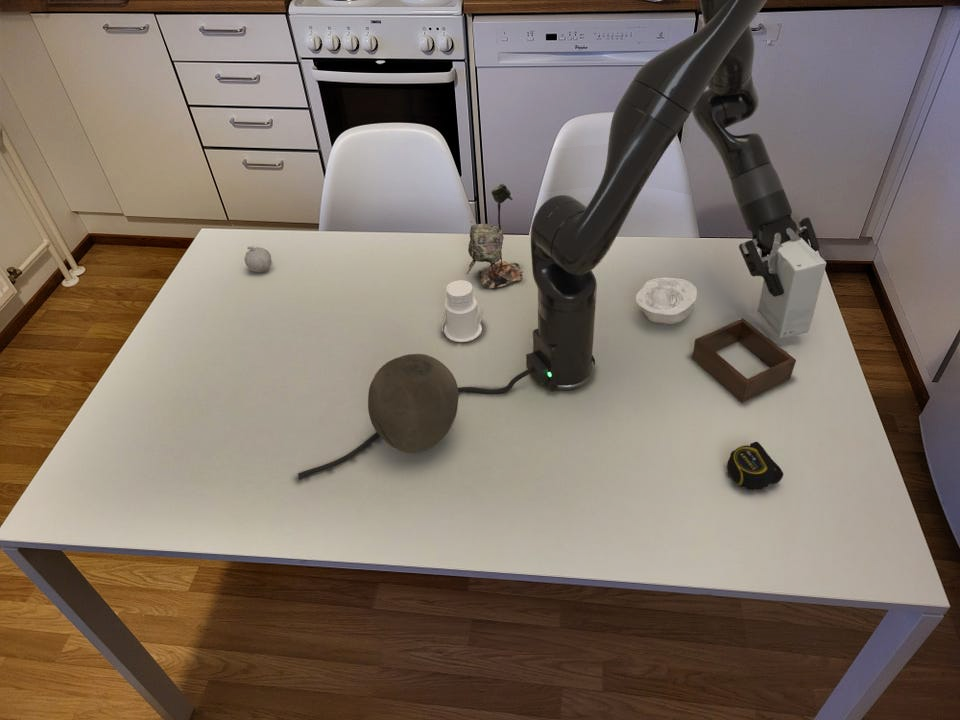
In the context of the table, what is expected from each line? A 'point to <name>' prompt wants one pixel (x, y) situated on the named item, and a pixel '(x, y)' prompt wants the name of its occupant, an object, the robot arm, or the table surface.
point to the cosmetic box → (793, 289)
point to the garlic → (258, 259)
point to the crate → (756, 344)
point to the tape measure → (753, 467)
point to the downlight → (461, 313)
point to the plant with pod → (492, 248)
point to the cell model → (667, 299)
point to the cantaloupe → (413, 402)
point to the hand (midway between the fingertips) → (795, 287)
